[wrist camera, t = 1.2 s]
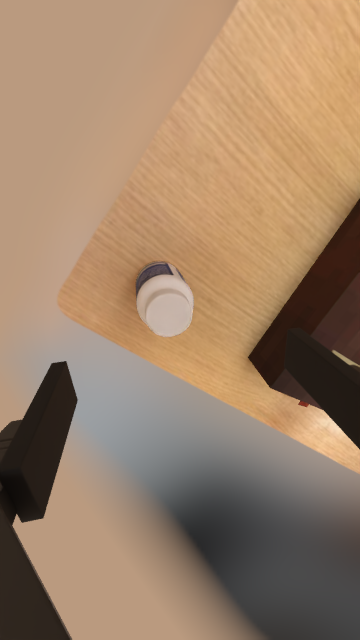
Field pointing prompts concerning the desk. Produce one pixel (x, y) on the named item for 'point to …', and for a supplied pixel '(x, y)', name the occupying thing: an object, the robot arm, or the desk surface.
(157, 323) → the pill bottle
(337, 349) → the decorative book
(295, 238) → the desk surface
